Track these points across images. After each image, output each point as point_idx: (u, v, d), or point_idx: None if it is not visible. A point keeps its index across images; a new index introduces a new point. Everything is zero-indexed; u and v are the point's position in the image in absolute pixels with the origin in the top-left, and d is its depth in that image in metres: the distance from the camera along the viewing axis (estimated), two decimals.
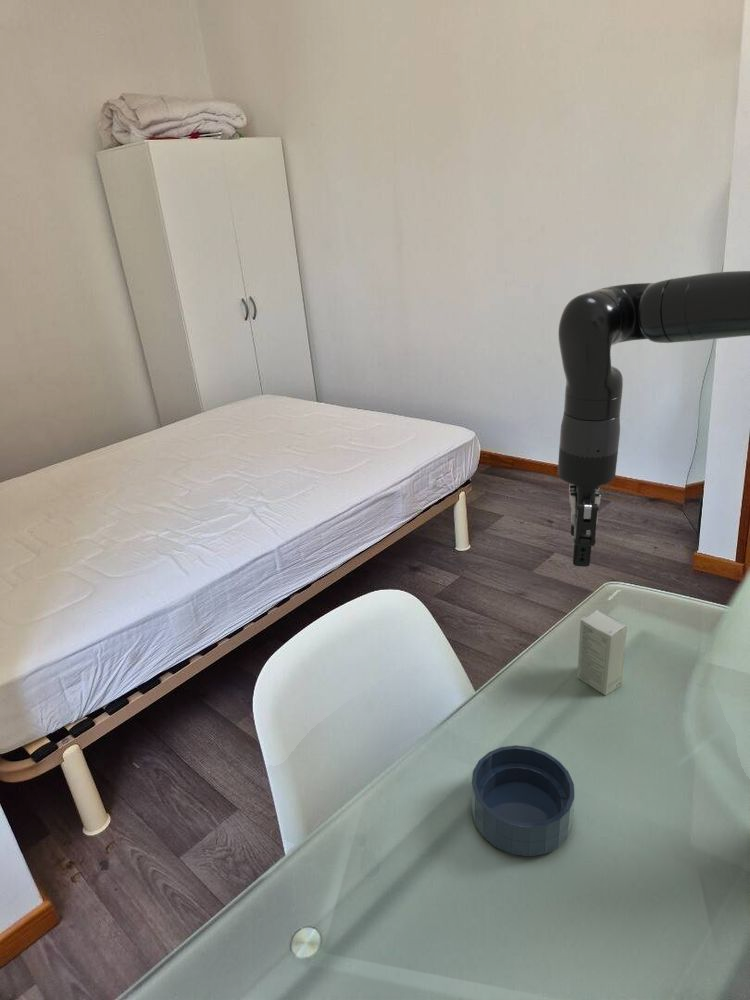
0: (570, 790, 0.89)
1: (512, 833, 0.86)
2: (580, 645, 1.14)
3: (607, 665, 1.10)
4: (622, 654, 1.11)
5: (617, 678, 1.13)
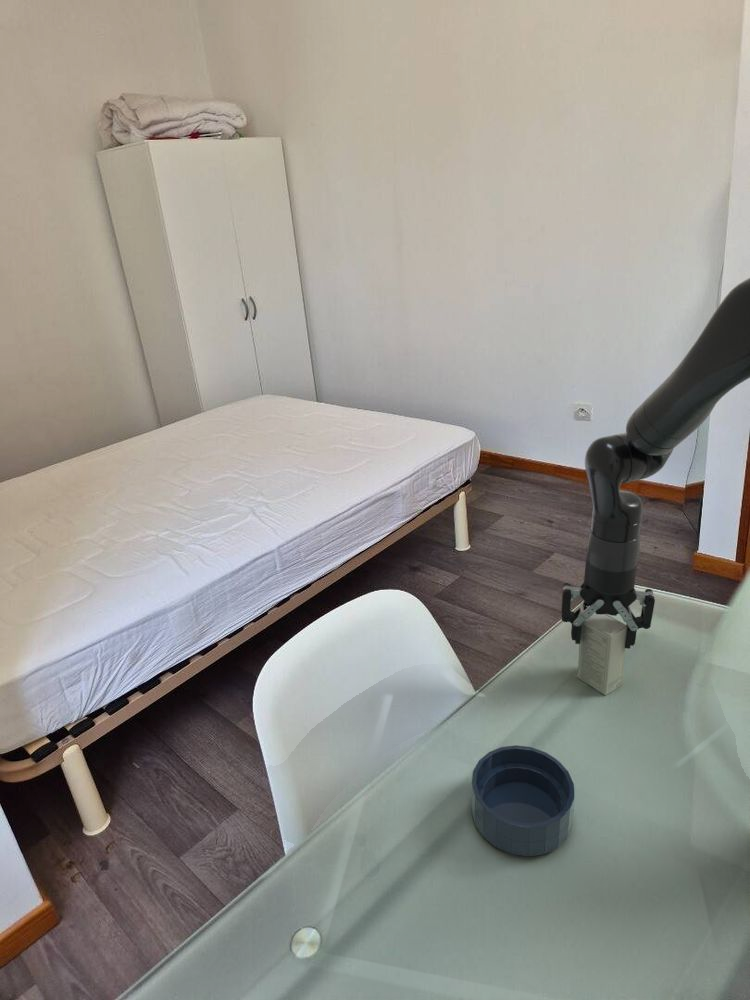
0: (570, 790, 0.89)
1: (512, 833, 0.86)
2: (580, 645, 1.14)
3: (607, 665, 1.10)
4: (622, 654, 1.11)
5: (617, 678, 1.13)
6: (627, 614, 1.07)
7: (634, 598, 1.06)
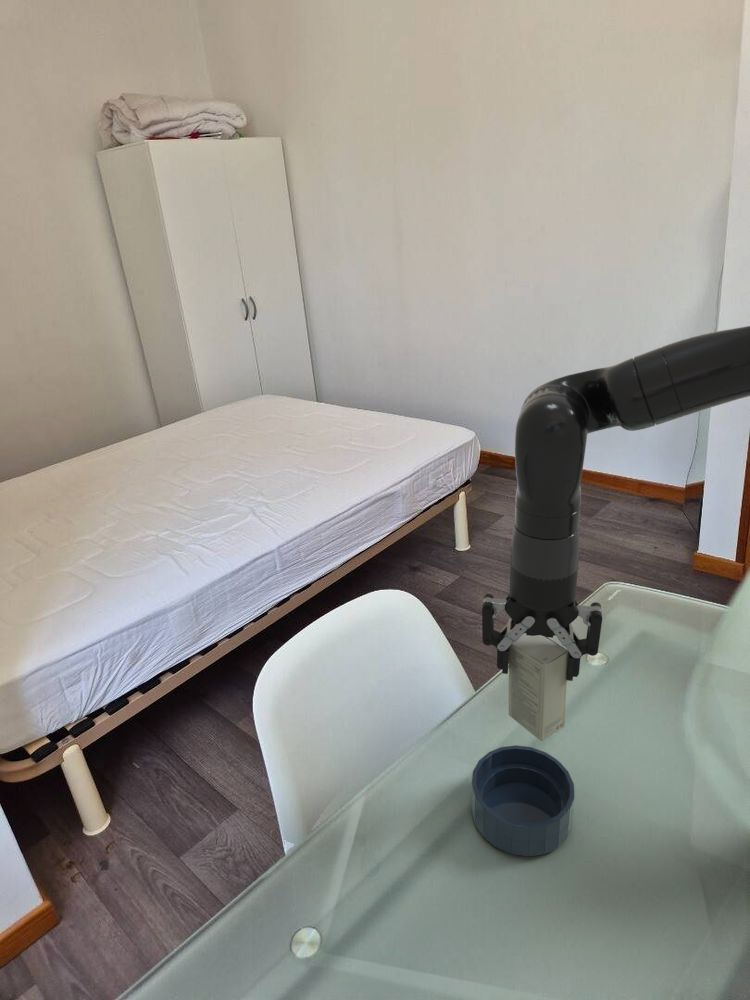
0: (570, 790, 0.89)
1: (512, 833, 0.86)
2: (510, 674, 0.87)
3: (542, 703, 0.83)
4: (563, 688, 0.84)
5: (558, 719, 0.86)
6: (566, 636, 0.80)
7: (575, 615, 0.79)
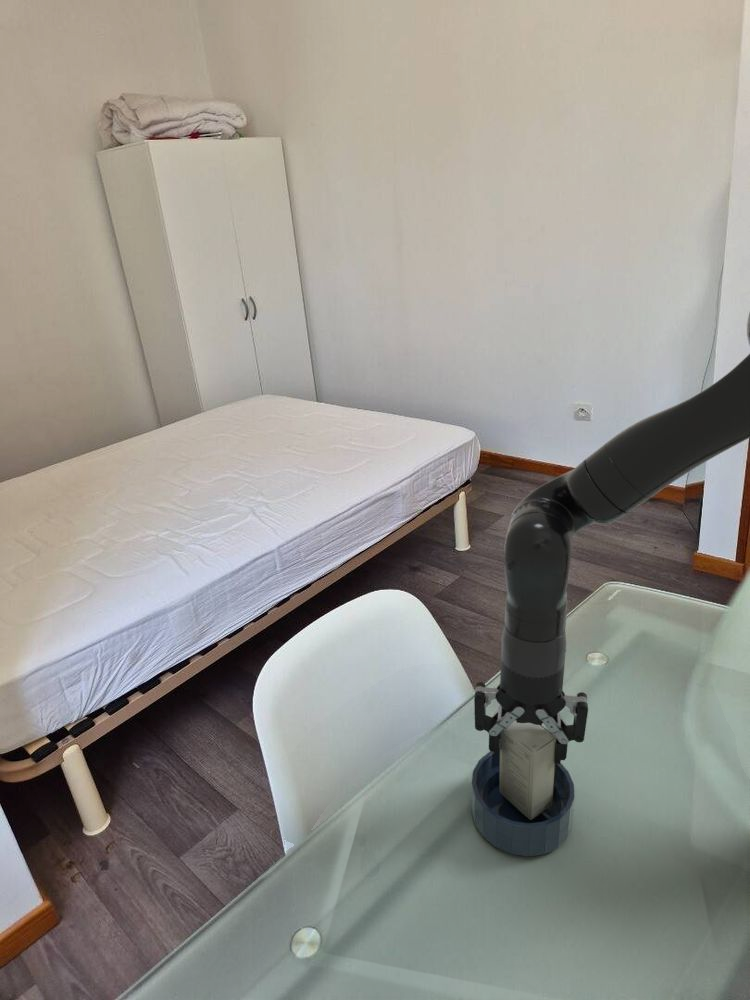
0: (570, 790, 0.89)
1: (512, 833, 0.86)
2: (501, 756, 0.91)
3: (531, 786, 0.87)
4: (551, 770, 0.89)
5: (546, 799, 0.90)
6: (554, 725, 0.84)
7: (562, 705, 0.84)
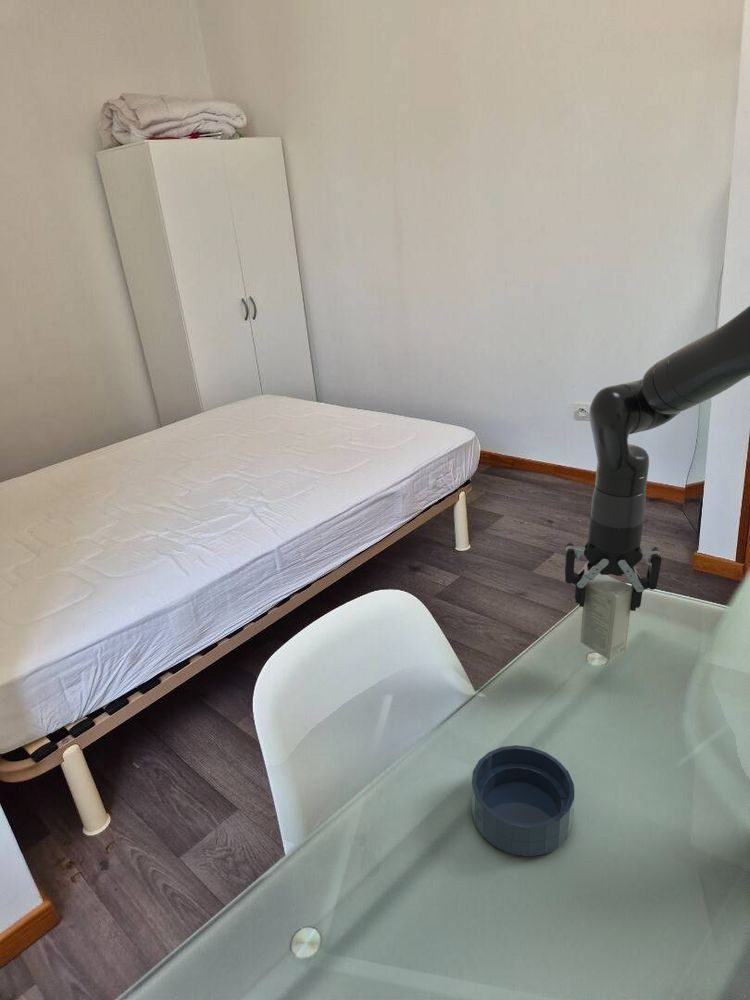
0: (570, 790, 0.89)
1: (512, 833, 0.86)
2: (584, 608, 1.11)
3: (612, 628, 1.07)
4: (627, 617, 1.08)
5: (622, 643, 1.10)
6: (633, 574, 1.04)
7: (640, 557, 1.03)
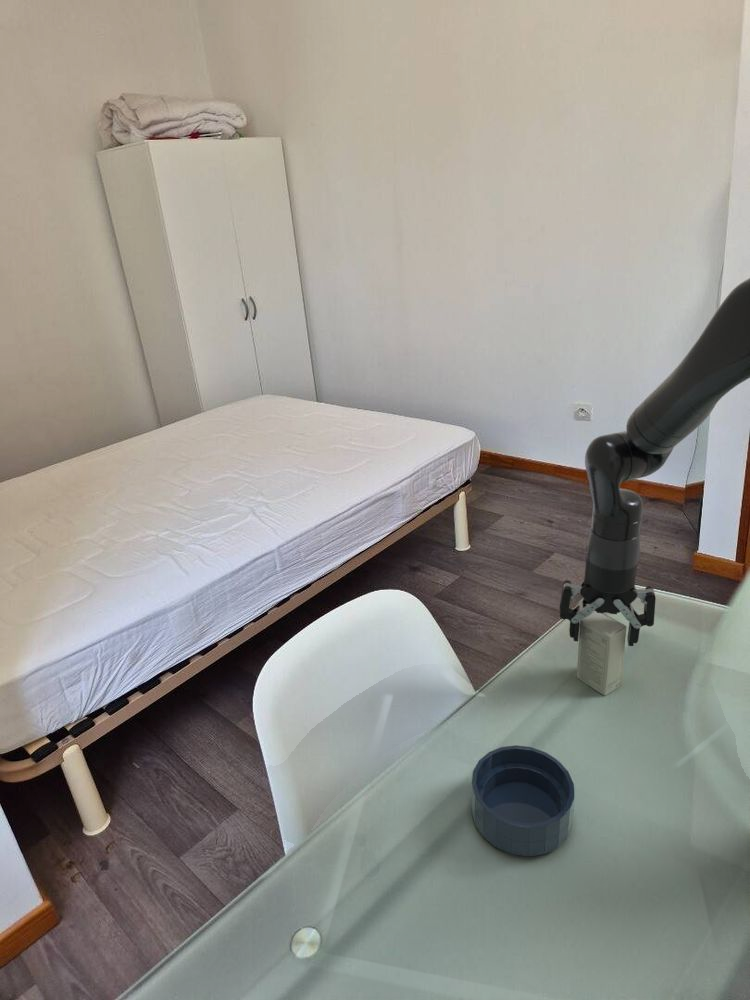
0: (570, 790, 0.89)
1: (512, 833, 0.86)
2: (579, 645, 1.14)
3: (606, 666, 1.10)
4: (621, 654, 1.11)
5: (617, 679, 1.13)
6: (629, 612, 1.07)
7: (634, 597, 1.06)
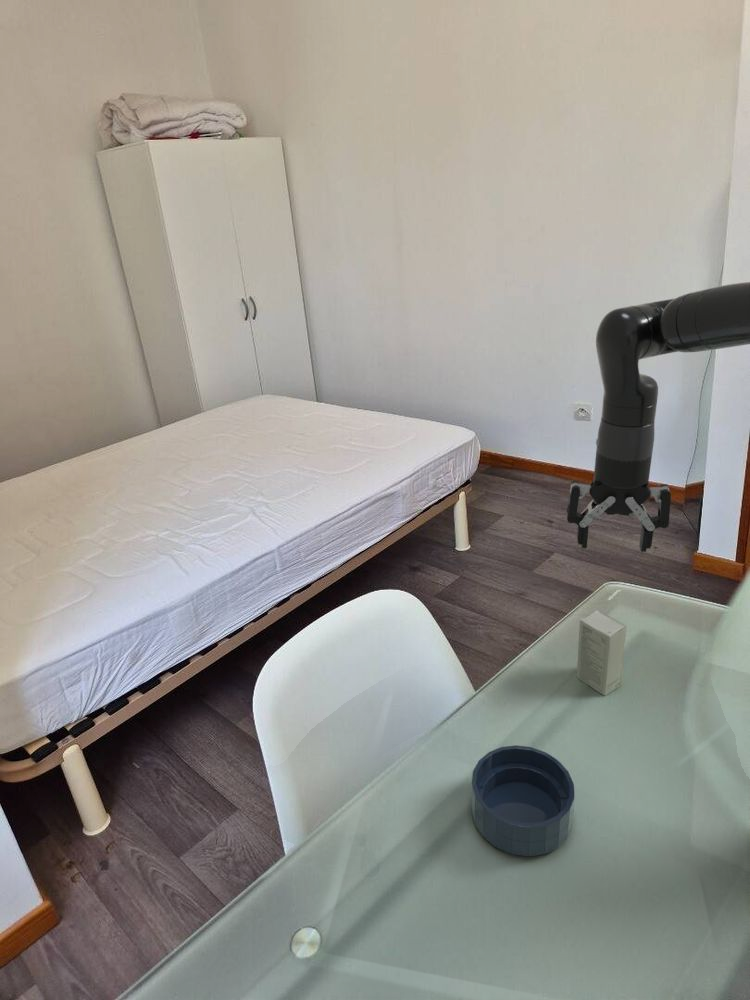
0: (570, 790, 0.89)
1: (512, 833, 0.86)
2: (579, 645, 1.14)
3: (606, 666, 1.10)
4: (621, 654, 1.11)
5: (616, 679, 1.13)
6: (642, 512, 0.99)
7: (648, 494, 0.99)
